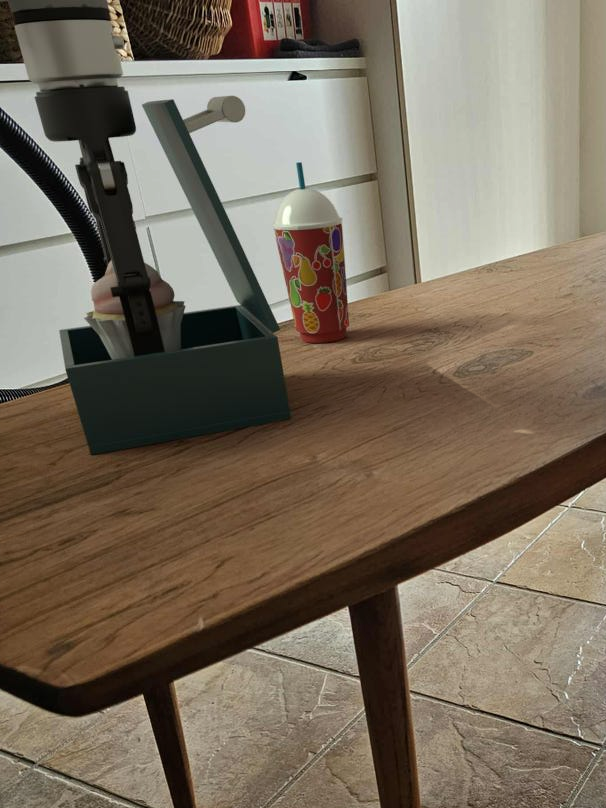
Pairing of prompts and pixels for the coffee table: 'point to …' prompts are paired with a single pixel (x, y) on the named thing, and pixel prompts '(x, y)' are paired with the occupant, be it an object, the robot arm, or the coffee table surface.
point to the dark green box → (178, 382)
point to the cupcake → (112, 319)
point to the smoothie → (313, 263)
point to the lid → (210, 194)
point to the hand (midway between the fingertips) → (147, 355)
